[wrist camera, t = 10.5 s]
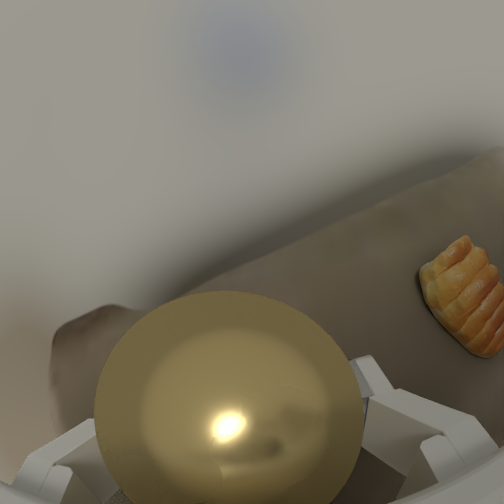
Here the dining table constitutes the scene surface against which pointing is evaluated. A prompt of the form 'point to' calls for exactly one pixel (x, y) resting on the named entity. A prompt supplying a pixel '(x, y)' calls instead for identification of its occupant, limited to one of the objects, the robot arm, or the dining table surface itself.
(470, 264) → the pastry
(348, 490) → the dining table surface
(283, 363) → the peg
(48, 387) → the dining table surface
